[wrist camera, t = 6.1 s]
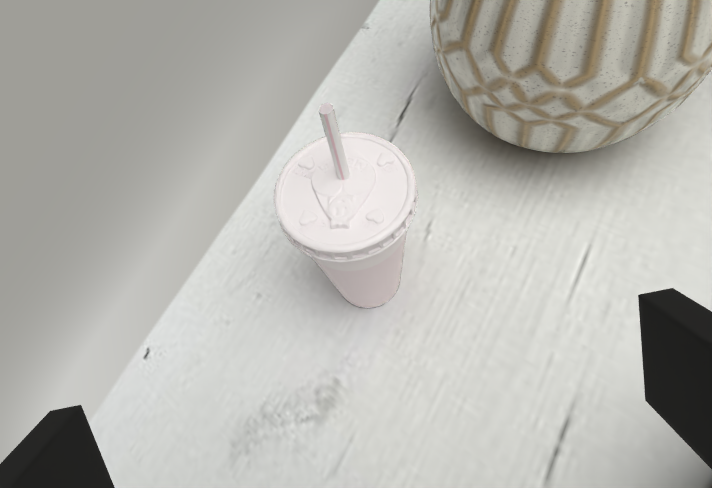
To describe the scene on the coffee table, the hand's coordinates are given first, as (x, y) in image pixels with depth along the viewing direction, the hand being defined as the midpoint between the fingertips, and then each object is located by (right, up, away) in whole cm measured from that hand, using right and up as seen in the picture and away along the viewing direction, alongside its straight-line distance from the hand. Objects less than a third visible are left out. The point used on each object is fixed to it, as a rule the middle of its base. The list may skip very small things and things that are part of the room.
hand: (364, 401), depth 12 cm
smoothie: (+1, +1, +19) cm, 19 cm away
